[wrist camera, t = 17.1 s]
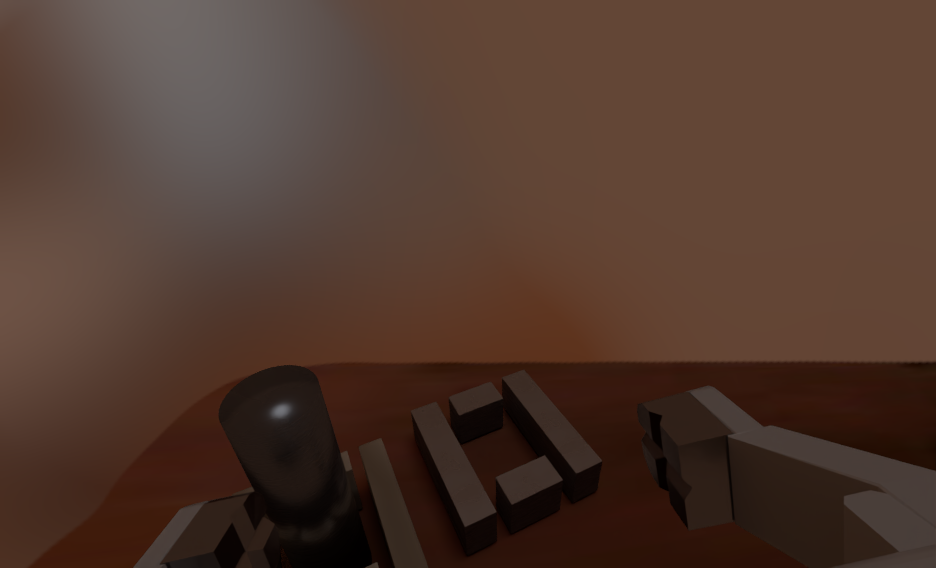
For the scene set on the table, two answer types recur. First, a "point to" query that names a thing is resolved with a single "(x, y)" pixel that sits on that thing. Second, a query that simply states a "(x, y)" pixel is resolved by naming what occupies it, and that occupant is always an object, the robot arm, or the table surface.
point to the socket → (518, 490)
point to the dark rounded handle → (296, 466)
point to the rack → (384, 506)
